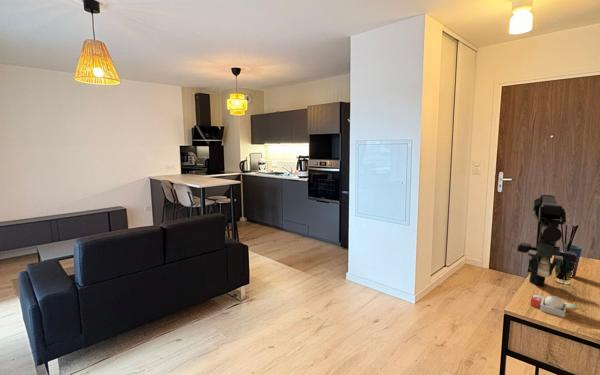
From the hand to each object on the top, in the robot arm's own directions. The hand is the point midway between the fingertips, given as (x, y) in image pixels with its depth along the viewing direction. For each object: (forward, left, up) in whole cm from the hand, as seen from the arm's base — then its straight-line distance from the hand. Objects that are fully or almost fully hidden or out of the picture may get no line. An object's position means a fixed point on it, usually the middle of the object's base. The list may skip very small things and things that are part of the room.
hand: (543, 271), depth 131 cm
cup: (-34, +25, -13) cm, 44 cm away
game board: (+6, +3, -12) cm, 14 cm away
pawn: (0, 0, -1) cm, 1 cm away
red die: (+8, -4, -12) cm, 15 cm away
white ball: (+10, +1, -11) cm, 15 cm away
